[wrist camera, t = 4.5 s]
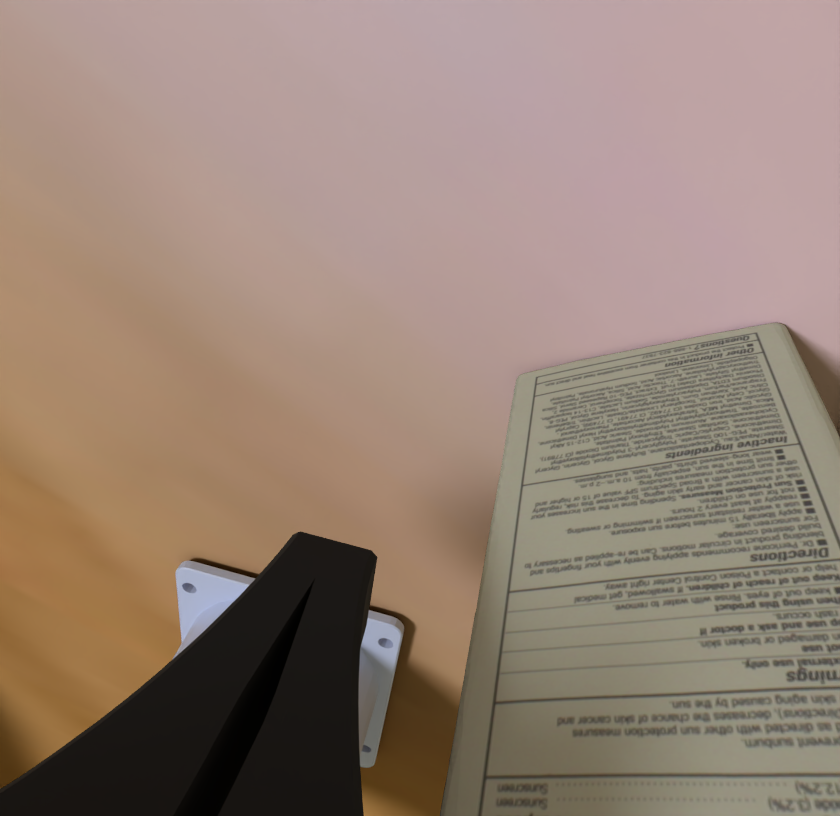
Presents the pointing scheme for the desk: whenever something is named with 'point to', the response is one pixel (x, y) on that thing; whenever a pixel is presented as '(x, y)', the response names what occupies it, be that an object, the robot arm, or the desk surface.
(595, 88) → the desk surface
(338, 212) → the desk surface
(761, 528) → the skincare box
